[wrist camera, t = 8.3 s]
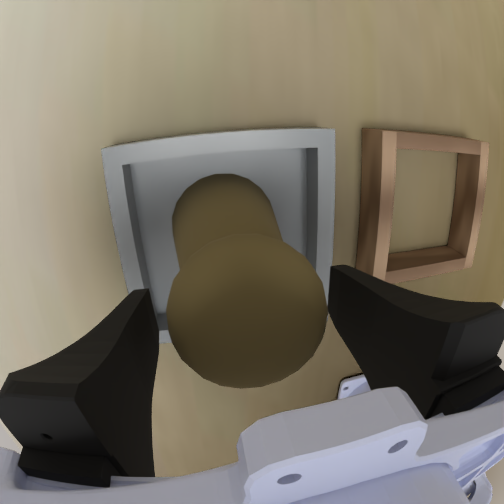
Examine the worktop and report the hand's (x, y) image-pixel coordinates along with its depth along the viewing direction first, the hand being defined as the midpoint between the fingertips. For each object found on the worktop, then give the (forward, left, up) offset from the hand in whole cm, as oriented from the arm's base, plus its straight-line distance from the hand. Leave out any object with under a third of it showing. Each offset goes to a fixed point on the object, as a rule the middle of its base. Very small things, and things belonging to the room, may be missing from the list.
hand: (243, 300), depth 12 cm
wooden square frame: (+1, -14, -8) cm, 16 cm away
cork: (+1, 0, -8) cm, 8 cm away
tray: (0, 0, -8) cm, 8 cm away
